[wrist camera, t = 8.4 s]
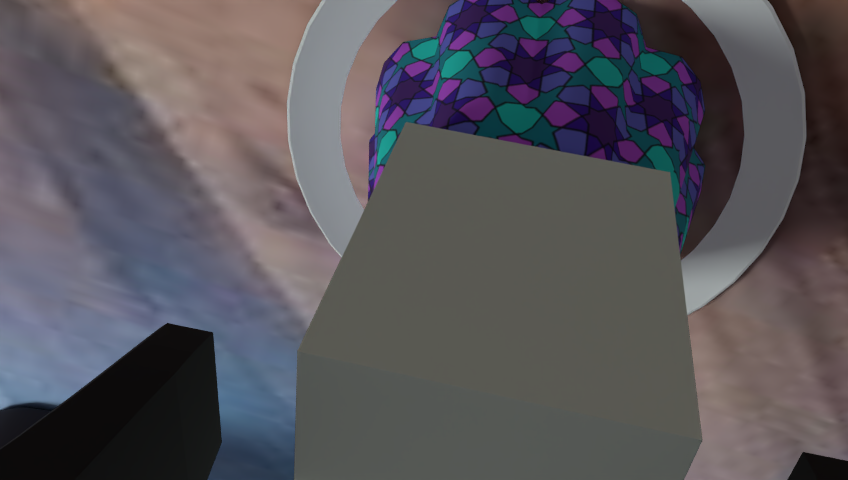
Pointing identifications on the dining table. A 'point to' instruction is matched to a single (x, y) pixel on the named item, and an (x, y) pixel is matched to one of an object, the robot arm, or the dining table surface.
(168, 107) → the dining table surface
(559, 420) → the block
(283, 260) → the dining table surface
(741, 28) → the pudding
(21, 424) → the bottle
